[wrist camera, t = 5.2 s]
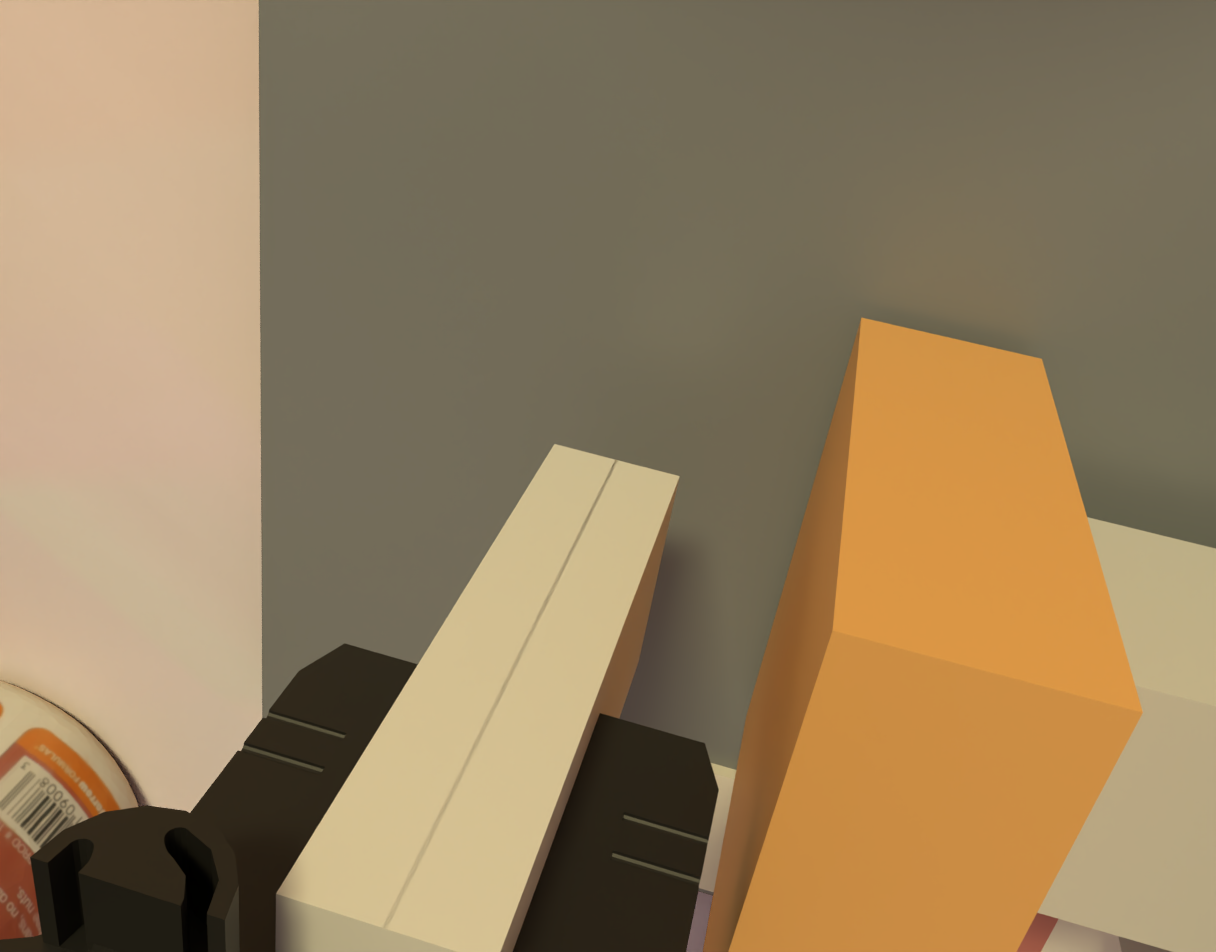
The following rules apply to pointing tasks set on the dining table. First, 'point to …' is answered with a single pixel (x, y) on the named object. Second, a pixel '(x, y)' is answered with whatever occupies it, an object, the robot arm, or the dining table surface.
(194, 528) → the dining table surface
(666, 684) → the board
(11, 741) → the pill bottle
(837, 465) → the plunger
